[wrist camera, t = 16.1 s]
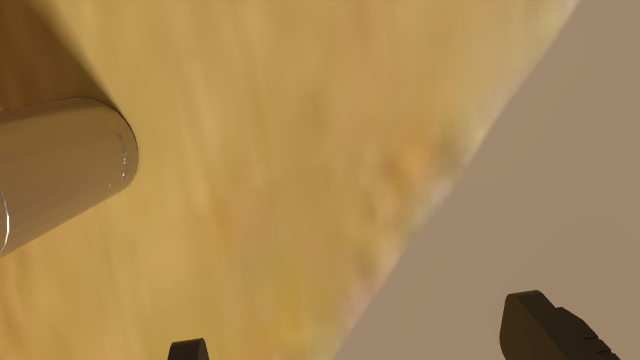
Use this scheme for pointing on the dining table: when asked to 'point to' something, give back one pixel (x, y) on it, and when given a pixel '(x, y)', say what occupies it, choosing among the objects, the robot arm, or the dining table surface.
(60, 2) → the dining table surface
